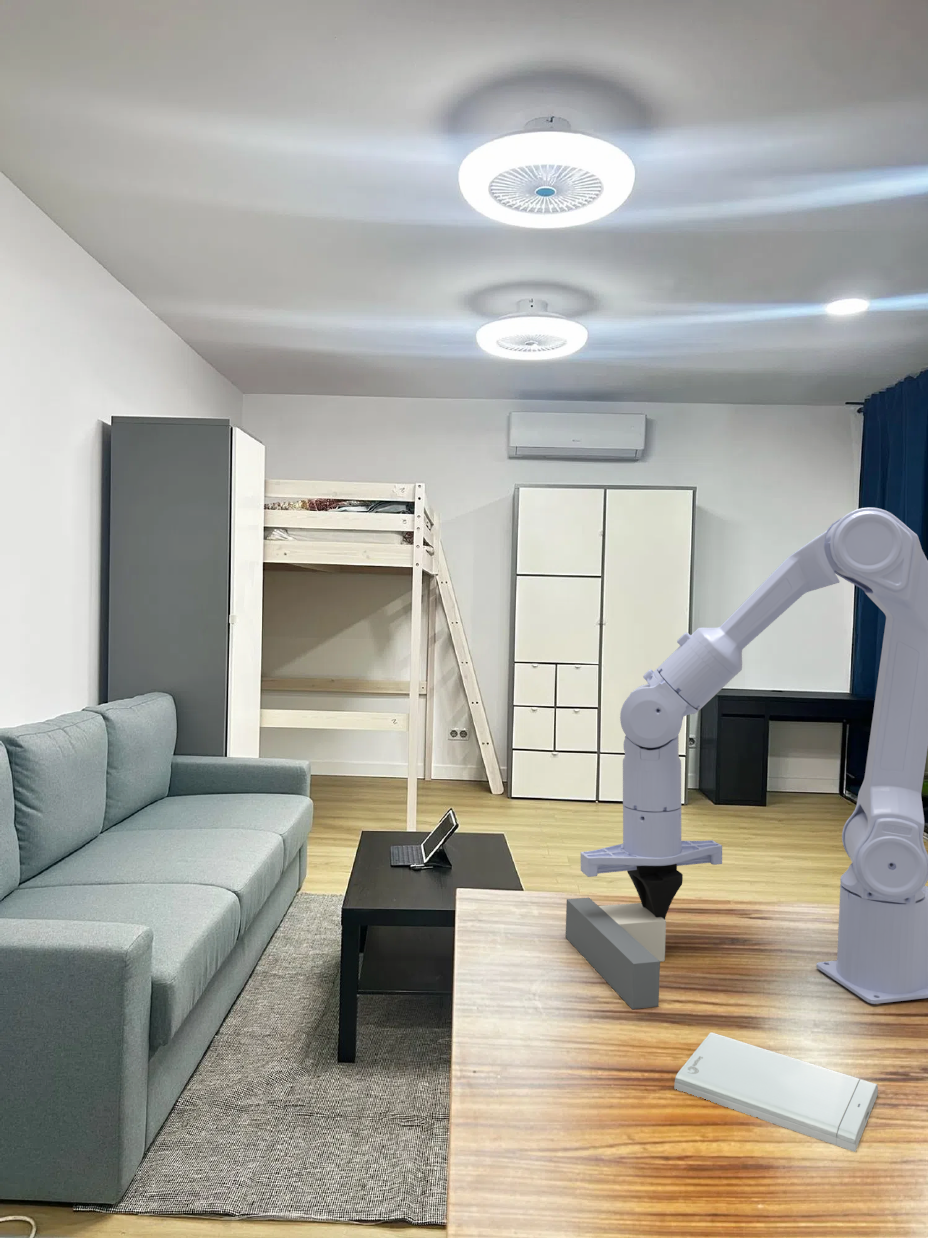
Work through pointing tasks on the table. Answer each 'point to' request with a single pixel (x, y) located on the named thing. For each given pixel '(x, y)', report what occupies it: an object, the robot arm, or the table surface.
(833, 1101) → the hard drive
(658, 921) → the cream block
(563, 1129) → the table surface
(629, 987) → the gray bar
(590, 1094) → the table surface
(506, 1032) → the table surface
